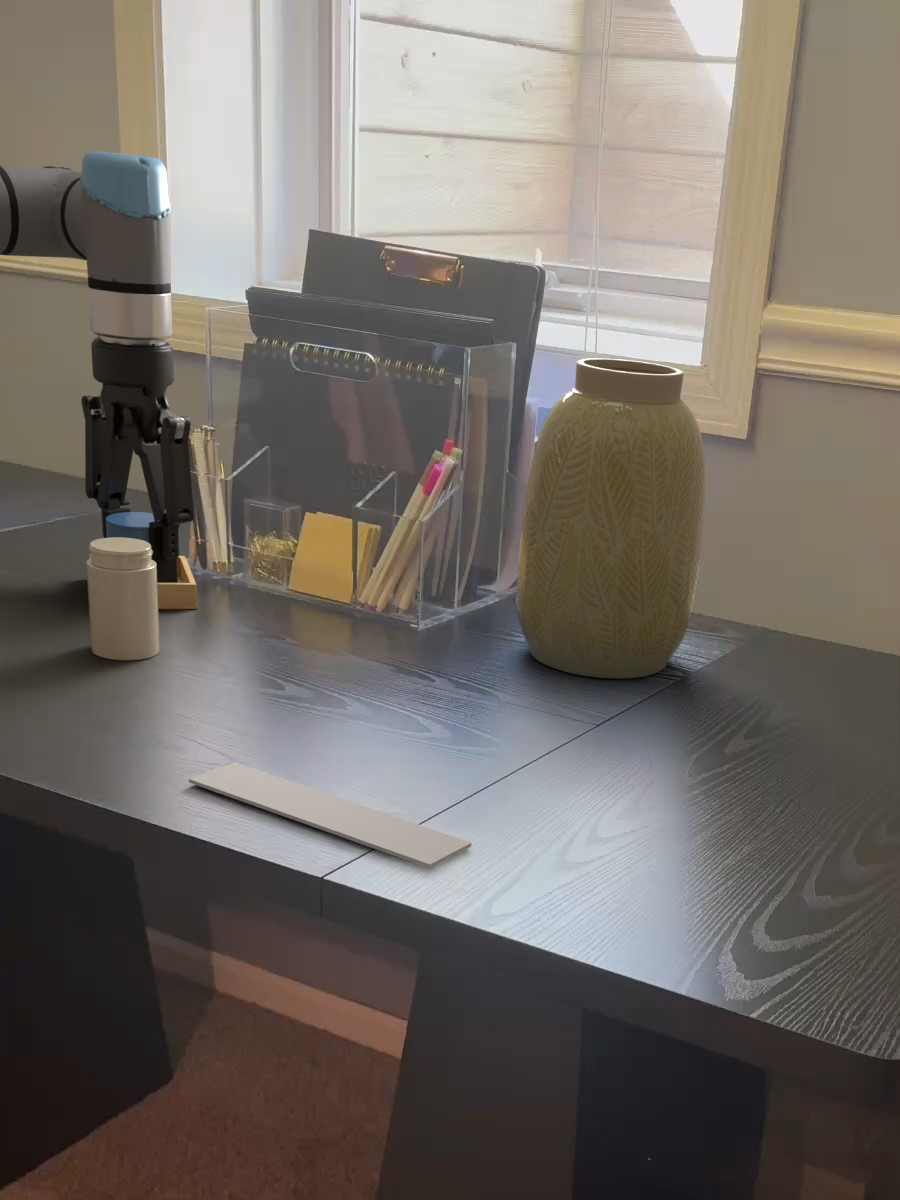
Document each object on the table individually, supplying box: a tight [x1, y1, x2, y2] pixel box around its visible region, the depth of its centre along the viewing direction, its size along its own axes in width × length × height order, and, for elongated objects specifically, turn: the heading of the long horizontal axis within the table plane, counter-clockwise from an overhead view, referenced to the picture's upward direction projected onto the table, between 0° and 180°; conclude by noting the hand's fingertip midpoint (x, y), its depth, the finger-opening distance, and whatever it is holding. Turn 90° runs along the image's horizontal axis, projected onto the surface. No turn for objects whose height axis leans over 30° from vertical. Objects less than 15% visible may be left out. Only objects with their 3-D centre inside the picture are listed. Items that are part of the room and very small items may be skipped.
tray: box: [89, 554, 198, 610], centre depth 149 cm, size 11×10×2 cm
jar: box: [85, 537, 161, 661], centre depth 131 cm, size 6×6×10 cm
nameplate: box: [188, 761, 472, 869], centre depth 105 cm, size 22×1×5 cm
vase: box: [515, 358, 706, 680], centre depth 138 cm, size 17×17×27 cm
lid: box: [106, 511, 155, 543], centre depth 147 cm, size 7×6×2 cm
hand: (141, 581), depth 149 cm, fingers closed on lid, 6 cm apart
